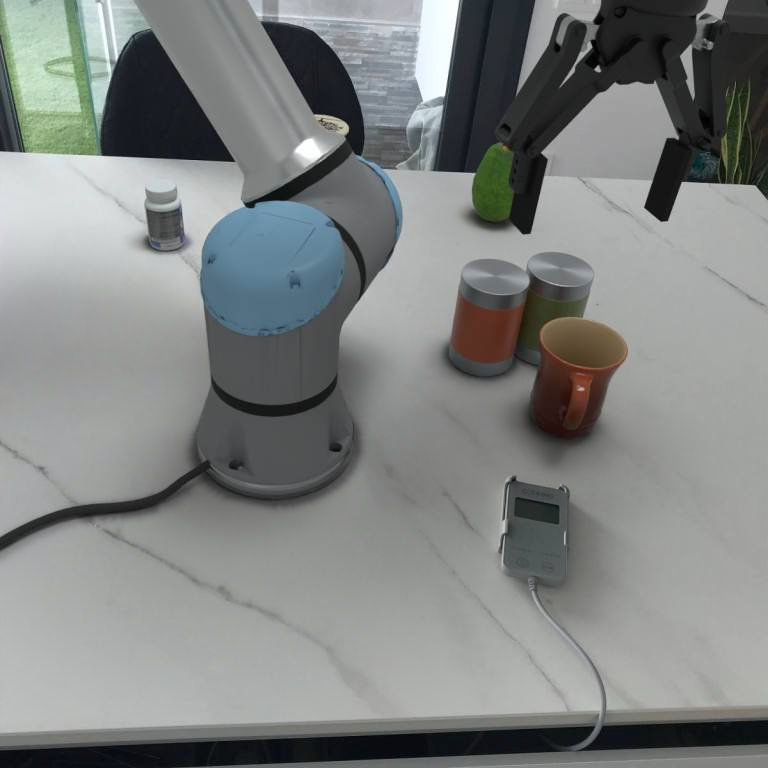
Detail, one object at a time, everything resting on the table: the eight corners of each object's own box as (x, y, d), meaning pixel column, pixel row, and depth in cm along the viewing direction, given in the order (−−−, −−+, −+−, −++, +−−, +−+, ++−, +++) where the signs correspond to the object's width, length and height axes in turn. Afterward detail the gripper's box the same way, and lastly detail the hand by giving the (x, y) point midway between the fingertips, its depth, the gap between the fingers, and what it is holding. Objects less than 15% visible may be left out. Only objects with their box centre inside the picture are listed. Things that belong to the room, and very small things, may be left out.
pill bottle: (191, 246, 105) (185, 189, 100) (157, 254, 103) (150, 196, 98) (177, 231, 108) (171, 174, 103) (144, 238, 106) (136, 181, 101)
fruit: (456, 218, 117) (467, 141, 110) (486, 202, 122) (499, 128, 115) (499, 237, 114) (514, 159, 106) (528, 220, 118) (544, 145, 111)
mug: (522, 386, 87) (541, 310, 80) (601, 400, 86) (626, 324, 79) (515, 459, 78) (535, 380, 71) (603, 476, 77) (631, 397, 70)
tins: (463, 381, 87) (477, 298, 80) (438, 342, 92) (450, 262, 85) (583, 362, 91) (607, 282, 84) (554, 326, 97) (574, 248, 90)
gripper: (532, -50, 47) (476, 255, 61) (846, -40, 55) (734, 229, 68) (482, -75, 52) (440, 210, 66) (774, -63, 60) (683, 191, 73)
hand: (589, 220), depth 67 cm, fingers open, 13 cm apart
